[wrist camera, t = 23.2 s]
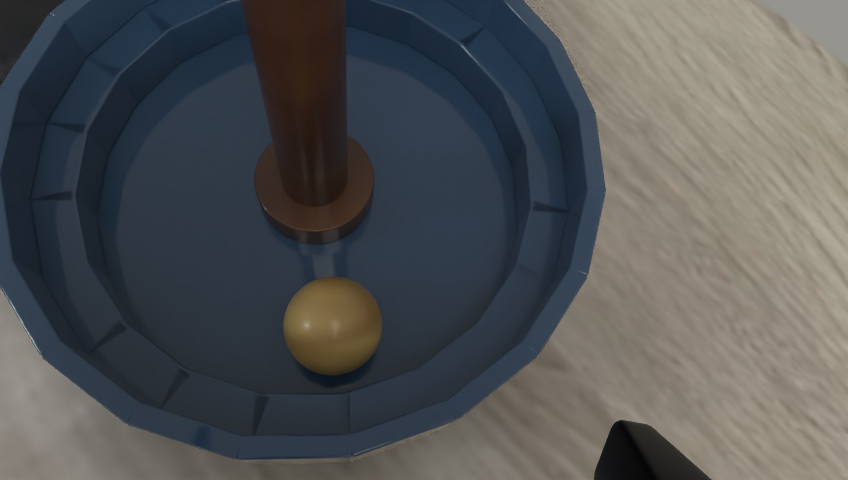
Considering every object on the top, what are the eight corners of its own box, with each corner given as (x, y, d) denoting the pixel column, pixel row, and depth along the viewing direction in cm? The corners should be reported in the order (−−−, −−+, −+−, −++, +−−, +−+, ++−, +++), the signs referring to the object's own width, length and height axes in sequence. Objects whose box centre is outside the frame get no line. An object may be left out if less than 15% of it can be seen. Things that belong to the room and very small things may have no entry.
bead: (306, 400, 18) (308, 297, 17) (268, 362, 20) (268, 271, 20) (398, 379, 20) (402, 285, 19) (352, 346, 22) (355, 261, 21)
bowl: (584, 458, 21) (641, 452, 17) (0, 470, 19) (-98, 466, 15) (538, 14, 28) (571, -70, 24) (96, -12, 26) (46, -108, 22)
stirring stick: (395, 203, 23) (453, -165, 10) (301, 266, 22) (229, -58, 9) (329, 123, 24) (305, -312, 11) (236, 179, 23) (82, -233, 10)
